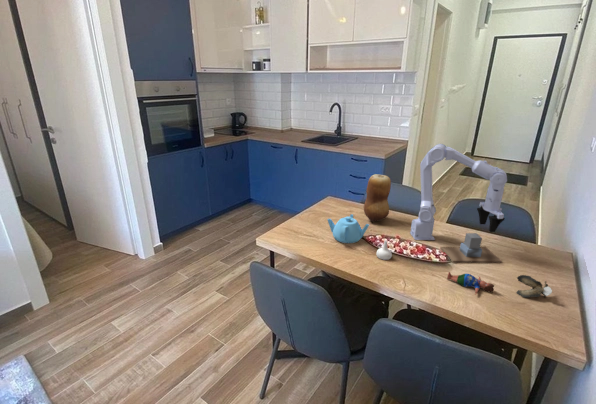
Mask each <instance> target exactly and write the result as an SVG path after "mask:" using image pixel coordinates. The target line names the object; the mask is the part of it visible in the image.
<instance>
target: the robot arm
mask: <svg viewBox="0 0 596 404" xmlns="http://www.w3.org/2000/svg"><path fill="white" fill-rule="evenodd" d="M444 159H445V161H451V160H453V161H455V162H458V163H460V164H462V165H464V166H466V167H469V168H470V169H471V172H472V173H474V174H475V175H477V176H479V177H481V178H483V179H485V180H487V181H488V180H489V185H488V187H487V192H486V196H485V200H484V201H480V202H479V207H477V208H476V211H477V214H478V219H479V221H478V222H479V225H486V223H487V220H488V221H489V228H488V230H489V233H496V231H497V229H498V227H499V226H500V225H501V224H502V223H503V221H505V220H506V219H505V217H504V215H505V214H504V213H503V212H502V209H503V208H502V207H501V204H502V200H503V196H504V191H505V187H506V183H507V182H508V176H507V175H508V174H507V172H506V171H505V170H504V169H503V168H499V167H498V166H493V165H492V164H490V163H488V161H487V160H485V159H484V160H481V159H480V160H475V159H473V158H471V157H469V156H467V155H466V154H463V153H462V152H460V151H458V150H457V149H455V148H453V147H450V146H448V145H447V146H446V145H445V144H443V143H437V144H436V145H434V146H433V147H432V148H431V149H429V151H427V153H426V154H425V155H424V157H423V158H422V160H421V162H420V165H419V167H420V187H421V188H420V193H421V194H420V198H421V202H420V207H419V208H420V210H419V212H418V218H414V219H412V220H411V227H410V232H409V234H410V235H411V237H412V238H413V239H414V240H415V241H435V240H436V238H435V237H434V236H433V231H434V225H435V221H436V220H435V218H434V216H435V214H436V211H437V209H436V206H435V204H434V199H433V196H434V195H433V194H434V193H433V166H434V165H436V164H437V163H439V162H441V161H443V160H444ZM490 213H491V215H490Z"/></svg>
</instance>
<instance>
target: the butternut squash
mask: <svg viewBox="0 0 596 404" xmlns="http://www.w3.org/2000/svg"><path fill="white" fill-rule="evenodd" d="M391 184H392V179H391V178H390V177H389V176H388V175H385V174H376V173H375V174H373V175H371V176H370V177H369V178H368V181H367V186H366V190H365V192H366V197H365V201H364V204H363V212H364V215H365V216H366V217H367V219H368V220H370V221H371V222H379V221H382V220H385V219H386V218H387V217H388V216H389V214H390V205H389V199H388V198H389V195H390V193H391Z"/></svg>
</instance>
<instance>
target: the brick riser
mask: <svg viewBox="0 0 596 404" xmlns="http://www.w3.org/2000/svg"><path fill="white" fill-rule="evenodd" d="M439 249H440V250H441V252H442V253H444V252H445V253H446V254H447V255H448V256H449V257H450V259H451V261H452V262H451V261H450V262H451V263H453V264H457V263H458V264H469V263H470V264H477V263H478V264H480V263H481V264H486V263H487V264H491V263H494V264H500V263H501V264H502V262H503V261H502V259H500V258H499V256H497V255H496V254H495V253H494V252H493V251H491V250H490V249H489V248H488V247H486V246H480V249H469V248H468V247H467V246H466V245H465V244H464V242H461V243H460V246H440V248H439ZM450 259H449V260H450Z"/></svg>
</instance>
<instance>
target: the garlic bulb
mask: <svg viewBox="0 0 596 404" xmlns="http://www.w3.org/2000/svg"><path fill="white" fill-rule="evenodd" d="M382 245H383V246H382V247H380V248H378V249H377V251H376V253H375V254H376V257H377V258H378V259H380V260H383V261H388V260H391V259H392V257H393V256H392V254H393V253H392V251H391V249H389V248H388V240H387V239H384V241H383V244H382Z"/></svg>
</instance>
